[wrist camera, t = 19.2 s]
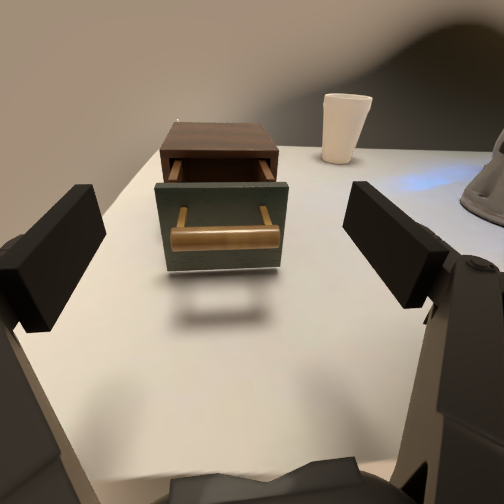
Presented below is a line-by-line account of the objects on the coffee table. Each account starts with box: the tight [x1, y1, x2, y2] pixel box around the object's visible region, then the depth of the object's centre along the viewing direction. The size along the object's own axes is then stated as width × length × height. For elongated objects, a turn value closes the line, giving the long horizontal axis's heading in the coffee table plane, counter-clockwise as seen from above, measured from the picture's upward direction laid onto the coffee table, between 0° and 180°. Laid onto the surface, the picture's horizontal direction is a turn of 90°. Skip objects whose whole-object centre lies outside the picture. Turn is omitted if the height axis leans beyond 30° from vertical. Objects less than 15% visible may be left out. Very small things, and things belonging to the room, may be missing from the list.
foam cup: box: [322, 94, 372, 164], centre depth 64 cm, size 10×9×13 cm
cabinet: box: [160, 122, 279, 183], centre depth 40 cm, size 15×13×11 cm
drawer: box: [154, 158, 289, 271], centre depth 31 cm, size 20×12×9 cm, turn 7°
